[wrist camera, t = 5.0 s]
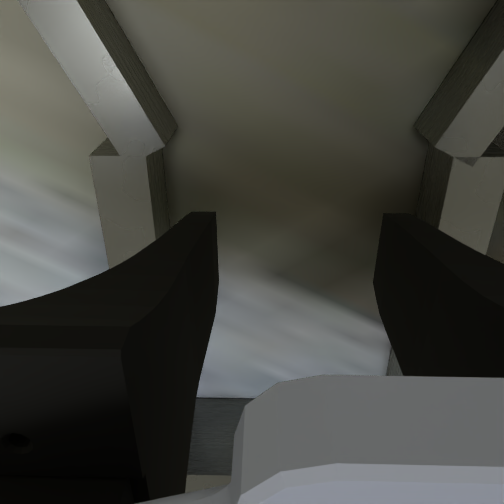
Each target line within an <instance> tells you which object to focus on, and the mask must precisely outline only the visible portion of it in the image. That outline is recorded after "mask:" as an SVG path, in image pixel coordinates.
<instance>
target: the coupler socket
mask: <svg viewBox="0 0 504 504" xmlns="http://www.w3.org/2000/svg"><path fill="white" fill-rule="evenodd" d="M18 2H19V3H20V5H21V6H22V8H23V9H24V11H25V12H26V14H27V15H28V17H29V18H30V20H31V22H32V23H33V25H34V26H35V28H36V29H37V31H38V32H39V34H40V35H41V37H42V38H43V40H44V41H45V43H46V44H47V46H48V47H49V49H50V50H51V52H52V53H53V55H54V56H55V58H56V59H57V61H58V62H59V64H60V65H61V67H62V68H63V70H64V72H65V73H66V75H67V76H68V78H69V79H70V81H71V82H72V84H73V85H74V87H75V88H76V90H77V91H78V93H79V94H80V96H81V97H82V99H83V100H84V102H85V103H86V105H87V106H88V108H89V109H90V111H91V112H92V114H93V115H94V117H95V118H96V120H97V122H98V123H99V125H100V126H101V128H102V129H103V131H104V132H105V134H106V135H107V137H108V138H107V139H106V140H105V141H104V142H103V143H102V144H101V145H100V146H99V147H98V148H97V149H96V150H94V151H93V152H92V153H91V154H90V155H89V159H90V165H91V170H92V176H93V181H94V187H95V192H96V198H97V203H98V209H99V214H100V220H101V225H102V231H103V236H104V242H105V247H106V253H107V258H108V264H109V269H111V268H112V267H114V266H116V265H118V264H120V263H122V262H123V261H125V260H127V259H129V258H130V257H132V256H133V255H135V254H136V253H138V252H139V251H141V250H142V249H144V248H145V247H147V246H148V245H149V244H151V243H152V242H154V241H155V240H157V239H158V238H159V237H161V236H162V235H163V234H164V233H166V232H167V231H168V230H169V229H170V224H169V214H168V204H167V194H166V185H165V175H164V165H163V155H162V148H163V147H165V146H166V144H167V142H168V141H169V139H170V137H171V136H172V134H173V133H174V131H175V129H176V128H177V124H176V122H175V121H174V119H173V117H172V115H171V114H170V112H169V110H168V108H167V107H166V105H165V103H164V102H163V100H162V98H161V96H160V95H159V93H158V91H157V90H156V88H155V86H154V84H153V83H152V81H151V79H150V77H149V76H148V74H147V72H146V71H145V69H144V67H143V65H142V64H141V62H140V60H139V59H138V57H137V55H136V53H135V52H134V50H133V48H132V47H131V45H130V43H129V41H128V40H127V38H126V36H125V34H124V33H123V31H122V29H121V28H120V26H119V24H118V22H117V21H116V19H115V17H114V16H113V14H112V12H111V10H110V9H109V7H108V5H107V4H106V2H105V0H18ZM503 126H504V0H497V2H496V3H495V5H494V6H493V8H492V9H491V11H490V12H489V14H488V15H487V17H486V18H485V20H484V21H483V23H482V24H481V26H480V27H479V29H478V30H477V32H476V33H475V35H474V36H473V38H472V39H471V41H470V42H469V44H468V45H467V47H466V48H465V50H464V51H463V53H462V54H461V56H460V57H459V59H458V60H457V62H456V63H455V65H454V66H453V68H452V69H451V71H450V72H449V74H448V75H447V77H446V78H445V80H444V81H443V83H442V84H441V86H440V87H439V89H438V90H437V92H436V93H435V95H434V96H433V98H432V99H431V101H430V102H429V104H428V105H427V107H426V108H425V110H424V111H423V113H422V114H421V116H420V117H419V119H418V120H417V122H416V123H415V125H414V127H415V128H416V129H417V130H418V131H419V132H420V133H421V134H422V135H423V136H424V137H425V138H426V139H427V140H428V141H429V146H428V151H427V157H426V162H425V168H424V173H423V179H422V184H421V189H420V195H419V200H418V206H417V211H416V217H417V218H419V219H421V220H423V221H425V222H427V223H428V224H430V225H432V226H434V227H435V228H437V229H439V230H441V231H442V232H444V233H446V234H447V235H449V236H451V237H453V238H454V239H456V240H458V241H460V242H461V243H463V244H465V245H467V246H469V247H471V248H472V249H474V250H476V251H478V252H480V253H482V254H484V255H486V252H487V249H488V245H489V241H490V238H491V234H492V230H493V227H494V223H495V220H496V216H497V212H498V209H499V205H500V202H501V198H502V194H503V191H504V151H503V150H502V149H501V148H499V147H498V146H496V145H495V144H493V143H492V141H493V140H494V138H495V137H496V136H497V134H498V133H499V132H500V130H501V129H502V128H503ZM386 376H403V374H402V371H401V369H400V366H399V364H398V361H397V358H396V356H395V353H394V351H393V348H391V353H390V359H389V364H388V370H387V375H386ZM252 400H254V399H210V398H196V403H195V411H194V419H193V427H192V435H191V444H190V452H189V461H188V470H187V479H186V489H185V493H188V492H193V491H198V490H203V489H207V488H212V487H217V486H222V485H227V484H229V483H230V482H231V474H232V460H233V446H234V434H235V431H236V429H237V426H238V423H239V421H240V418H241V415H242V412H243V410H244V407H245V405H247V404H248V403H249V402H251V401H252Z"/></svg>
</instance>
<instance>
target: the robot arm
mask: <svg viewBox="0 0 504 504" xmlns="http://www.w3.org/2000/svg"><path fill="white" fill-rule="evenodd" d="M218 284H219V272H218V248H217V225H216V212H191V213H189V214H188V215H186V216H185V217H184V218H183V219H182V220H180V221H179V222H178V223H177V224H176V225H174V226H173V227H172V228H171V229H169V230H168V231H167V232H166V233H164V234H163V235H162V236H161V237H159V238H158V239H157V240H155V241H154V242H152V243H151V244H149V245H148V246H147V247H145V248H144V249H142V250H141V251H139V252H138V253H136V254H135V255H133V256H132V257H130V258H129V259H127V260H125V261H123V262H122V263H120V264H118V265H116V266H114V267H112V268H111V269H109V270H107V271H105V272H103V273H101V274H99V275H96V276H94V277H91V278H89V279H87V280H84V281H82V282H79V283H77V284H75V285H72V286H70V287H67V288H65V289H62V290H59V291H56V292H53V293H50V294H47V295H44V296H40V297H37V298H34V299H30V300H27V301H23V302H19V303H15V304H11V305H7V306H2V307H0V504H504V264H502V263H500V262H498V261H496V260H494V259H492V258H490V257H488V256H486V255H484V254H482V253H480V252H478V251H476V250H474V249H472V248H471V247H469V246H467V245H465V244H463V243H461V242H460V241H458V240H456V239H454V238H453V237H451V236H449V235H447V234H446V233H444V232H442V231H441V230H439V229H437V228H435V227H434V226H432V225H430V224H428V223H427V222H425V221H423V220H421V219H419V218H417V217H415V216H413V215H410V214H390V213H383V220H382V226H381V233H380V240H379V246H378V253H377V260H376V266H375V273H374V280H373V285H374V290H375V295H376V300H377V304H378V309H379V313H380V316H381V319H382V322H383V324H384V327H385V330H386V332H387V335H388V338H389V340H390V343H391V346H392V348H393V351H394V353H395V356H396V358H397V361H398V364H399V366H400V369H401V371H402V374H403V376H364V375H319V376H313V377H308V378H302V379H296V380H291V381H285V382H280V383H277V384H275V385H274V386H272V387H271V388H270V389H268V390H267V391H265V392H264V393H262V394H261V395H260V396H258V397H257V398H255V399H254V400H252V401H251V402H249V403H248V404H247V405H245V407H244V410H243V412H242V415H241V418H240V421H239V423H238V426H237V429H236V431H235V434H234V446H233V460H232V474H231V482H230V483H229V484H227V485H222V486H217V487H212V488H207V489H203V490H198V491H193V492H188V493H185V489H186V479H187V470H188V461H189V452H190V444H191V435H192V427H193V419H194V411H195V403H196V395H197V390H198V385H199V380H200V375H201V371H202V367H203V363H204V359H205V355H206V351H207V347H208V342H209V338H210V334H211V330H212V326H213V322H214V317H215V313H216V305H217V295H218Z"/></svg>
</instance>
